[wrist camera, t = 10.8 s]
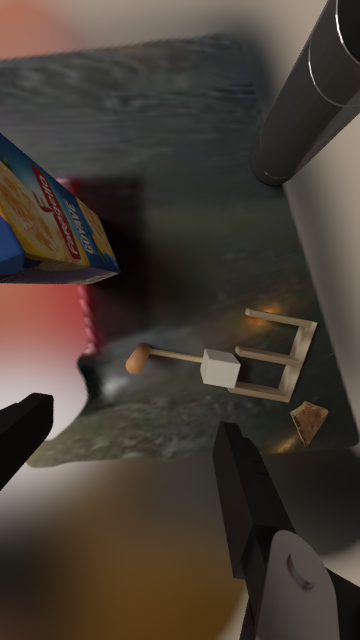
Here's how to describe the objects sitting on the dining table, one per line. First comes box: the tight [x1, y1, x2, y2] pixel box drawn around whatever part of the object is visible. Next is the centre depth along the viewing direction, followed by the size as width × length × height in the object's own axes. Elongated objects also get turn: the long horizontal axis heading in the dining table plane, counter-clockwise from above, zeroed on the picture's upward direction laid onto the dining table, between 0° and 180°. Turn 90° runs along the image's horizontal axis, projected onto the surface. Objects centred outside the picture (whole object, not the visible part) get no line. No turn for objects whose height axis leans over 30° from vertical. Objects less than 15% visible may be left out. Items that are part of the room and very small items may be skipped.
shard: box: [290, 401, 328, 448], centre depth 41 cm, size 11×8×2 cm
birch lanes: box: [227, 308, 317, 402], centre depth 36 cm, size 18×13×3 cm
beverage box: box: [0, 133, 121, 284], centre depth 23 cm, size 7×11×22 cm, turn 19°
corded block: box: [126, 343, 241, 388], centre depth 34 cm, size 5×20×8 cm, turn 80°
